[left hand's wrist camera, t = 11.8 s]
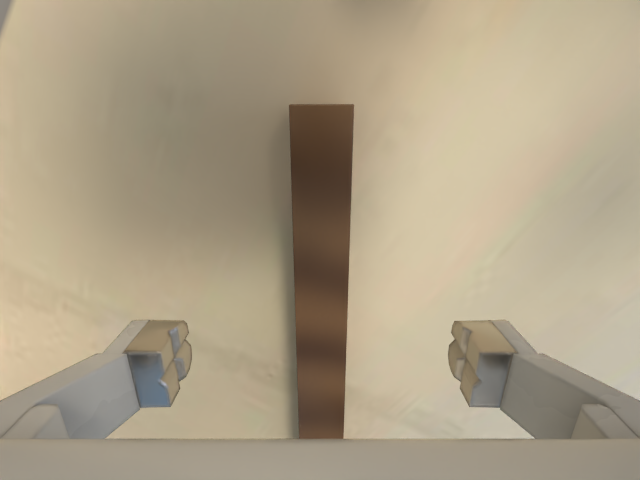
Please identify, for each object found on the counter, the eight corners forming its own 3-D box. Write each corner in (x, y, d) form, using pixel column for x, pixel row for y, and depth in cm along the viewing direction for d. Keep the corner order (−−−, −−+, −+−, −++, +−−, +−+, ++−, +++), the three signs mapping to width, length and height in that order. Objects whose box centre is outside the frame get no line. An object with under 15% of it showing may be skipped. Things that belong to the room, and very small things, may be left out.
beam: (294, 105, 30) (289, 104, 25) (348, 105, 30) (353, 104, 25) (306, 601, 58) (305, 651, 52) (335, 601, 58) (336, 650, 52)
